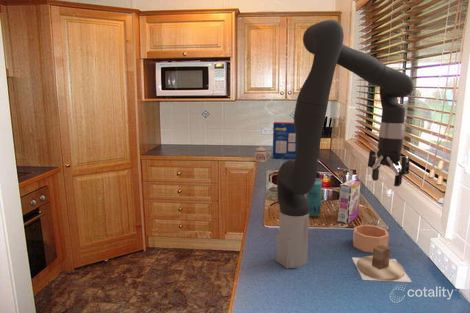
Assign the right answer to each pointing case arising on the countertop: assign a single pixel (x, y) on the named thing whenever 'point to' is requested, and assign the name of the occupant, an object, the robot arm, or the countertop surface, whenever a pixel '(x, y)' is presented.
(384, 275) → the lid
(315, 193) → the beverage bottle
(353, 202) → the candy bar box
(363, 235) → the bowl
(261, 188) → the countertop surface
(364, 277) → the mat
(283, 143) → the blue flat square box
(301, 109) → the robot arm
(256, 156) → the teacup with lid
